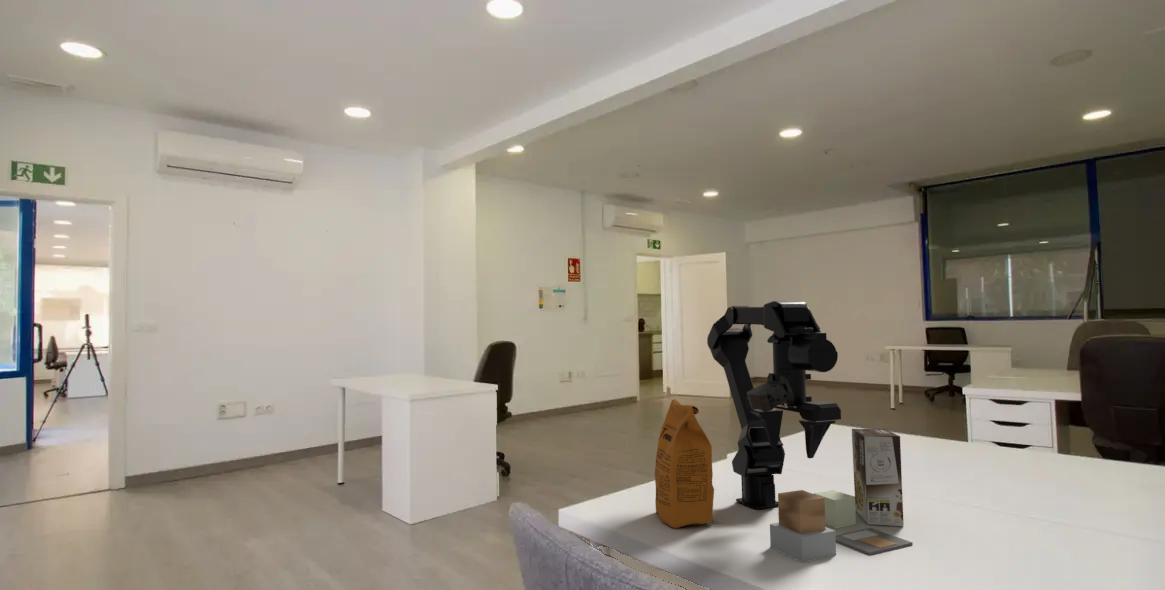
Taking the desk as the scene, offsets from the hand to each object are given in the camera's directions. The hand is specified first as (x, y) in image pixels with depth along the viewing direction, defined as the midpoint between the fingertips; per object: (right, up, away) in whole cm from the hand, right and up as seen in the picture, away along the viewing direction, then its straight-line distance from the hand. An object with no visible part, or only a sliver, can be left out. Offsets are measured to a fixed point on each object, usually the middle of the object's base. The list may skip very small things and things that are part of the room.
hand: (791, 452), depth 108 cm
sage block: (+8, -13, 0) cm, 15 cm away
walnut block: (-3, -8, -14) cm, 16 cm away
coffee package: (-20, -14, +3) cm, 24 cm away
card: (+9, -12, -10) cm, 18 cm away
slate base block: (-3, -12, -14) cm, 19 cm away
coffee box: (+17, -13, +2) cm, 22 cm away
